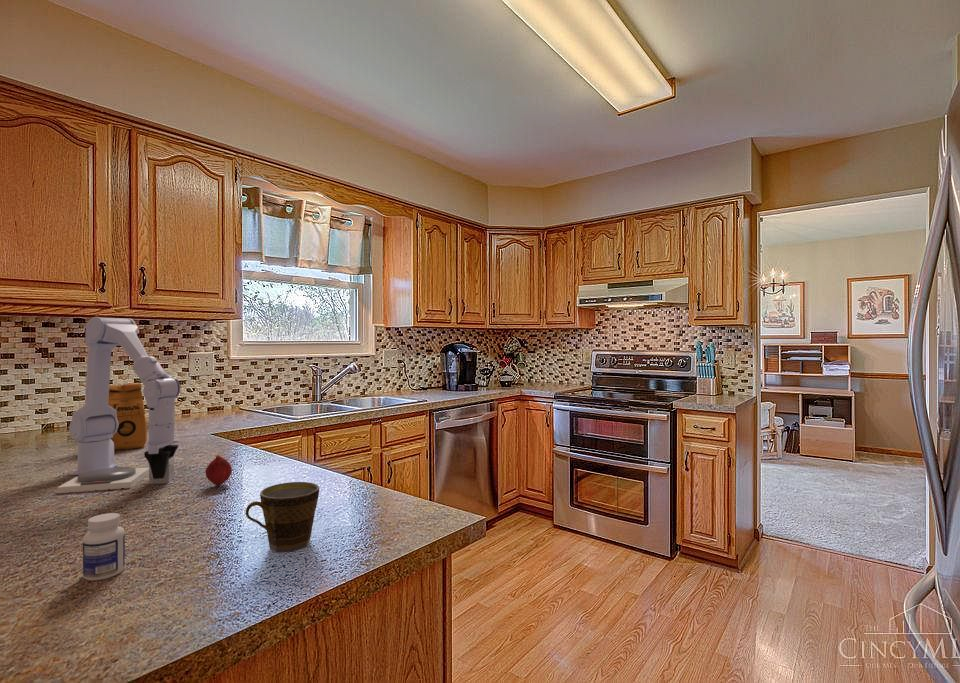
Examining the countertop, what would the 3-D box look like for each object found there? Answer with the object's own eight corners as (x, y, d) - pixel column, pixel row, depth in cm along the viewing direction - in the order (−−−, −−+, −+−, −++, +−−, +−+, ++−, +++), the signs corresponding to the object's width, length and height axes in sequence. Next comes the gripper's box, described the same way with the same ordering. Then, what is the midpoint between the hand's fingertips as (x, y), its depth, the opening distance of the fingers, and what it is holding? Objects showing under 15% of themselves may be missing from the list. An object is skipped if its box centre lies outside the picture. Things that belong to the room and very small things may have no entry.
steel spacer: (154, 479, 130) (154, 457, 130) (173, 478, 131) (173, 455, 131) (149, 484, 126) (149, 460, 126) (168, 482, 127) (168, 459, 127)
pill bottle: (98, 566, 80) (98, 511, 80) (132, 565, 80) (132, 510, 80) (73, 582, 75) (74, 523, 75) (110, 581, 75) (110, 522, 75)
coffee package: (148, 448, 168) (148, 384, 168) (102, 453, 160) (102, 386, 160) (144, 443, 176) (145, 382, 176) (101, 448, 168) (101, 384, 168)
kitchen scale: (85, 477, 132) (85, 467, 132) (150, 472, 137) (150, 463, 137) (57, 493, 118) (57, 483, 118) (130, 487, 123) (130, 477, 123)
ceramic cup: (300, 530, 96) (300, 478, 96) (330, 543, 89) (330, 488, 89) (232, 551, 86) (232, 494, 86) (260, 568, 79) (260, 506, 79)
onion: (236, 483, 127) (236, 452, 127) (222, 489, 122) (222, 457, 122) (215, 482, 128) (215, 451, 128) (200, 488, 122) (200, 456, 122)
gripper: (171, 427, 123) (171, 482, 123) (186, 419, 137) (186, 467, 137) (138, 429, 121) (138, 484, 121) (157, 420, 135) (156, 469, 135)
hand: (161, 475), depth 129 cm, fingers closed on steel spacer, 4 cm apart
